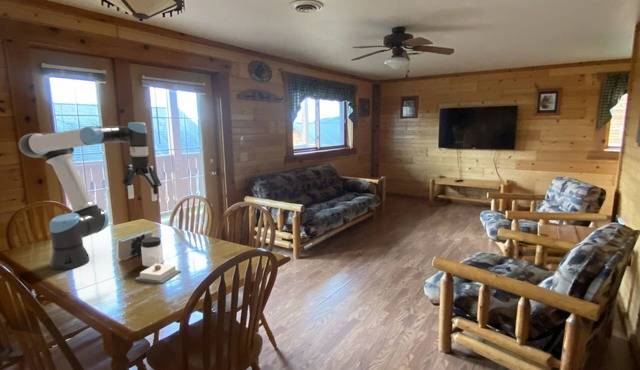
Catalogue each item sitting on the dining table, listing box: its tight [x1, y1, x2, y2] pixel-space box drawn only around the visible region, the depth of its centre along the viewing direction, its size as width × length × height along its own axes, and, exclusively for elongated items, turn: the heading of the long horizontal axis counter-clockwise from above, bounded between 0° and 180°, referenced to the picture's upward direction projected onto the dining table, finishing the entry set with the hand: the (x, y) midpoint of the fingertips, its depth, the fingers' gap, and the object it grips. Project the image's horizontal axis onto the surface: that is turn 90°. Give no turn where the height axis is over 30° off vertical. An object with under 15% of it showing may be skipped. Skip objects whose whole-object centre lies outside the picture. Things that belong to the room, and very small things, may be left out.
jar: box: [140, 236, 164, 268], centre depth 164 cm, size 9×8×12 cm
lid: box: [139, 263, 177, 281], centre depth 152 cm, size 10×10×4 cm
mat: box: [134, 269, 182, 285], centre depth 152 cm, size 14×12×1 cm
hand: (142, 199), depth 166 cm, fingers open, 13 cm apart
